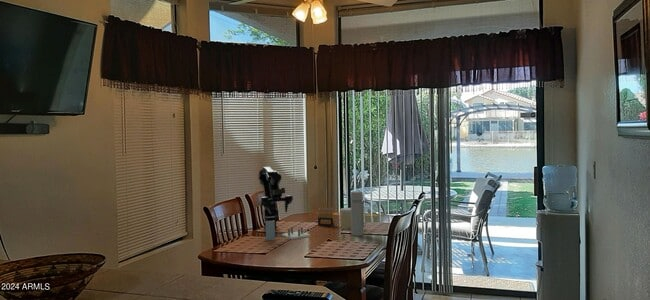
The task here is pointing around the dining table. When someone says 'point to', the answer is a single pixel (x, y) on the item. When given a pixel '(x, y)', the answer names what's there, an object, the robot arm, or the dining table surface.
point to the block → (270, 230)
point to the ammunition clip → (325, 217)
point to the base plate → (295, 234)
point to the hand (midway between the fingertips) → (278, 213)
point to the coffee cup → (345, 218)
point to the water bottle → (357, 213)
